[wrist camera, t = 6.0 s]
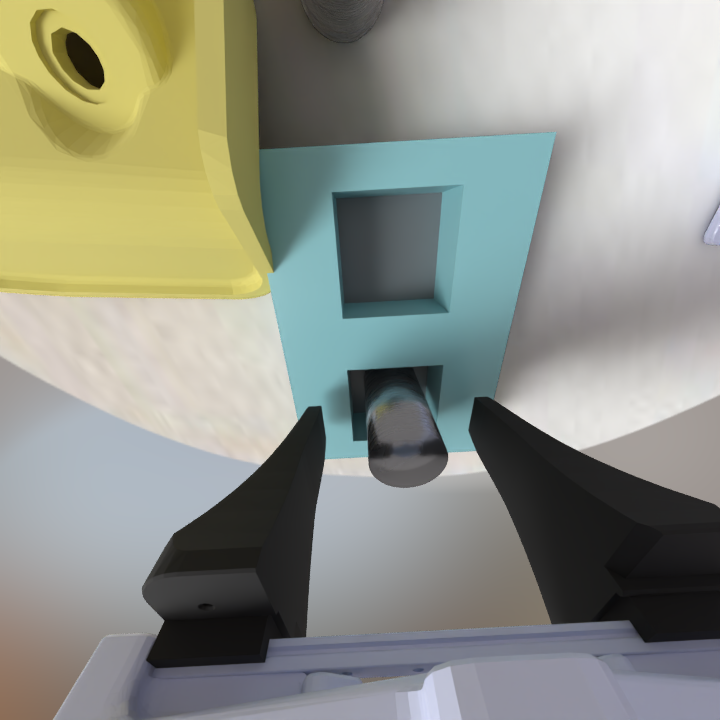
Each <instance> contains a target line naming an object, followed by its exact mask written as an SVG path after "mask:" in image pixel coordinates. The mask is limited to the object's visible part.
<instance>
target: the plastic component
mask: <svg viewBox="0 0 720 720" xmlns="http://www.w3.org/2000/svg"><path fill="white" fill-rule="evenodd" d="M72 32H75V33H77V34H78V35H79V36H80V37H81V38H82V39H84V40H85V41H86V42H87V43H88V44H89V45H90V46H91V48H92V49H93V50H94V52H95V53H96V55H97V56H98V58H99V60H100V62H101V65H102V67H103V69H104V79H105V82H104V84H103V85H102V87H101V89H100V88H97V87H95V86H92V85H90V84H89V83H88V82H87V81H86V80H85V79H84V78H83V77H82V76H81V75H80V74H79V73H78V72H77V71H76V69H75V67H74V66H73V64H72V62H71V60H70V58H69V56H68V55H67V50H66V44H65V42H66V38H67V34H69V33H72ZM267 273H274V270H273V261H272V252H271V248H270V244H269V241H268V237H267V233H266V229H265V223H264V216H263V210H262V201H261V191H260V170H259V117H258V64H257V18H256V10H255V6H254V1H253V0H0V292H7V293H20V294H34V295H51V296H69V297H122V298H187V299H249V298H256V297H260V296H264V295H266V294H268V293H270V292H271V290H270V285H269V280H268V275H267Z"/></svg>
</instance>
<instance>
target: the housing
mask: <svg viewBox="0 0 720 720" xmlns="http://www.w3.org/2000/svg"><path fill="white" fill-rule="evenodd" d="M555 136H556V132H546V133H529V134H512V135H495V136H479V137H462V138H445V139H428V140H411V141H394V142H377V143H360V144H343V145H326V146H309V147H292V148H275V149H259V170H260V191H261V201H262V210H263V216H264V223H265V229H266V233H267V237H268V241H269V244H270V248H271V252H272V261H273V270H274V273H267V275H268V280H269V285H270V290H271V294H272V299H273V304H274V309H275V313H276V318H277V323H278V328H279V332H280V337H281V342H282V347H283V351H284V356H285V361H286V365H287V370H288V375H289V380H290V384H291V389H292V394H293V399H294V403H295V408H296V413H297V418H298V420H299V419H300V418H301V416H302V415H303V413H304V412H305V410H306V409H307V407H308V406H321V407H322V413H323V420H324V426H325V433H326V451H325V459H338V458H356V457H368V443H367V426H366V408H365V391H364V374H365V371H366V369H381V368H399V367H413V369H414V371H415V374H416V376H417V379H418V381H419V384H420V386H421V388H422V391H423V393H424V396H425V398H426V400H427V403H428V405H429V408H430V410H431V412H432V415H433V417H434V420H435V422H436V425H437V427H438V429H439V432H440V434H441V437H442V439H443V441H444V444H445V446H446V449H447V452H466V451H476V449H475V447H474V444H473V442H472V439H471V437H470V434H469V431H468V429H469V423H470V418H471V413H472V408H473V403H474V397H487V396H488V397H489V398H491V399H493V400H494V396H495V392H496V388H497V383H498V379H499V375H500V371H501V366H502V362H503V358H504V354H505V349H506V345H507V341H508V337H509V332H510V328H511V324H512V320H513V315H514V311H515V307H516V302H517V298H518V294H519V290H520V285H521V281H522V277H523V273H524V268H525V264H526V260H527V256H528V251H529V247H530V243H531V239H532V234H533V230H534V226H535V221H536V217H537V213H538V209H539V204H540V200H541V196H542V192H543V187H544V183H545V179H546V175H547V170H548V166H549V162H550V158H551V153H552V149H553V145H554V140H555Z"/></svg>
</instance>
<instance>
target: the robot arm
mask: <svg viewBox="0 0 720 720" xmlns="http://www.w3.org/2000/svg"><path fill="white" fill-rule="evenodd" d="M704 242H705V243H706V244H708V245H720V206H719V208H718V209H717V211H716V213H715V215H714V217H713V219H712V221H711V223H710V225H709V227H708V229H707V231H706V233H705V235H704ZM468 431H469V434H470V437H471V439H472V442H473V444H474V447H475V449H476V451H477V453H478V455H479V457H480V459H481V461H482V462H483V464H484V466H485V468H486V470H487V471H488V473H489V474H490V477H491V478H492V480H493V482H494V484H495V486H496V488H497V489H498V491H499V493H500V495H501V497H502V499H503V501H504V502H505V505H506V507H507V509H508V511H509V514H510V516H511V518H512V520H513V523H514V525H515V527H516V530H517V532H518V534H519V537H520V539H521V542H522V544H523V546H524V549H525V552H526V554H527V557H528V559H529V562H530V565H531V567H532V570H533V572H534V575H535V578H536V580H537V583H538V586H539V589H540V591H541V594H542V597H543V600H544V603H545V606H546V609H547V611H548V614H549V617H550V620H551V623H552V624H551V625H533V626H532V625H530V626H513V627H512V626H511V627H493V628H475V629H474V628H473V629H454V630H435V631H417V632H397V633H378V634H359V635H342V636H341V635H340V636H321V637H306V628H307V610H308V594H309V580H310V565H311V552H312V540H313V529H314V519H315V511H316V504H317V498H318V494H319V488H320V482H321V477H322V472H323V467H324V461H325V451H326V433H325V426H324V420H323V413H322V407H321V406H308V407H307V409H306V410H305V412H304V413H303V415H302V416H301V418H300V419H299V420H298V422H297V423H296V425H295V426H294V427H293V429H292V430H291V431H290V433H289V434H288V435H287V437H286V438H285V439H284V441H283V442H282V443H281V444H280V445H279V447H278V448H277V449H276V450H275V451H274V452H273V454H272V455H271V456H270V457H269V458H268V459H267V460H266V461H265V462H264V463H263V464H262V465H261V467H259V468H258V469H257V470H256V471H255V472H254V473H253V474H252V475H251V476H250V477H249V478H248V479H247V480H246V481H245V482H243V483H242V484H241V485H240V486H239V487H238V488H237V489H235V490H234V491H233V492H232V493H231V494H229V495H228V496H227V497H226V498H224V499H223V500H222V501H220V502H219V503H218V504H216V505H215V506H214V507H213V508H211V509H210V510H208V511H207V512H206V513H204V514H203V515H201V516H200V517H198V518H197V519H195V520H194V521H192V522H191V523H190V524H188V525H187V526H185V527H183V528H182V529H181V530H179V531H177V532H176V533H174V534H173V536H172V538H171V539H170V541H169V542H168V544H167V545H166V547H165V548H164V550H163V552H162V554H161V555H160V557H159V559H158V561H157V562H156V564H155V566H154V567H153V569H152V571H151V573H150V574H149V576H148V578H147V580H146V581H145V583H144V585H143V587H142V594H143V597H144V599H145V600H146V602H147V603H148V604H149V605H150V606H151V607H152V608H153V609H154V610H155V611H156V612H157V613H158V614H159V615H160V616H161V617H162V618H163V619H164V620H165V621H164V623H163V625H162V628H161V630H160V632H159V634H158V636H156V635H153V634H149V633H134V634H133V633H132V634H113V635H107V636H105V637H103V638H102V640H101V642H100V643H99V645H98V646H97V648H96V650H95V652H94V653H93V655H92V656H91V658H90V660H89V661H88V663H87V665H86V666H85V668H84V670H83V671H82V673H81V675H80V676H79V678H78V679H77V681H76V683H75V685H74V686H73V688H72V690H71V691H70V693H69V694H68V696H67V698H66V699H65V701H64V703H63V704H62V706H61V708H60V709H59V711H58V712H57V714H56V716H55V718H54V719H53V720H720V508H719V507H717V506H716V505H715V504H712V503H709V502H706V501H703V500H700V499H697V498H694V497H691V496H688V495H685V494H682V493H679V492H676V491H673V490H670V489H667V488H664V487H662V486H659V485H656V484H654V483H651V482H649V481H646V480H643V479H641V478H638V477H635V476H633V475H630V474H628V473H626V472H623V471H621V470H618V469H616V468H614V467H611V466H609V465H607V464H605V463H602V462H600V461H598V460H596V459H594V458H591V457H589V456H587V455H585V454H583V453H581V452H579V451H577V450H575V449H573V448H571V447H569V446H567V445H565V444H564V443H562V442H560V441H558V440H556V439H555V438H553V437H551V436H549V435H548V434H546V433H544V432H543V431H541V430H539V429H538V428H536V427H534V426H533V425H531V424H530V423H528V422H526V421H525V420H523V419H522V418H520V417H519V416H517V415H516V414H514V413H513V412H511V411H510V410H508V409H507V408H505V407H503V406H502V405H500V404H499V403H497V402H496V401H494V400H493V399H491V398H489V397H488V396H487V397H474V403H473V408H472V413H471V418H470V423H469V429H468ZM392 676H405V677H399V678H394V679H388V680H381V681H375V682H369V683H363V684H362V681H361V679H360V678H372V677H392Z"/></svg>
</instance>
